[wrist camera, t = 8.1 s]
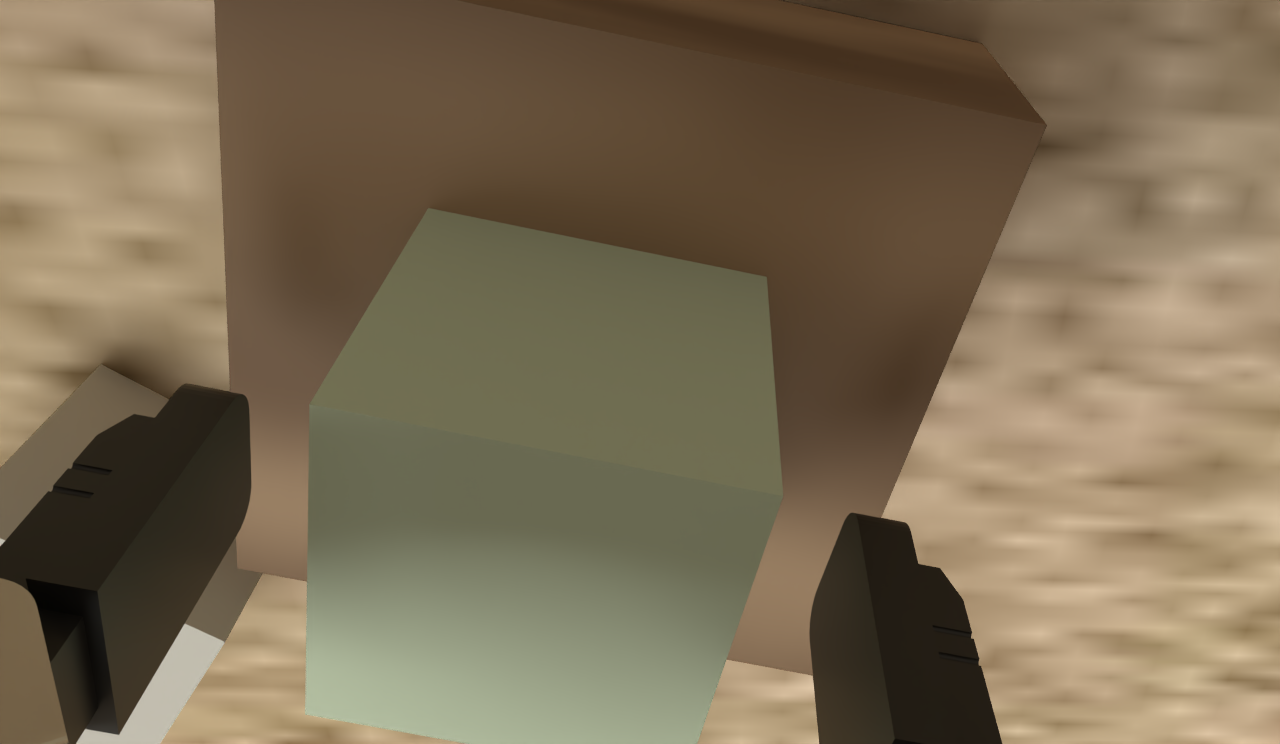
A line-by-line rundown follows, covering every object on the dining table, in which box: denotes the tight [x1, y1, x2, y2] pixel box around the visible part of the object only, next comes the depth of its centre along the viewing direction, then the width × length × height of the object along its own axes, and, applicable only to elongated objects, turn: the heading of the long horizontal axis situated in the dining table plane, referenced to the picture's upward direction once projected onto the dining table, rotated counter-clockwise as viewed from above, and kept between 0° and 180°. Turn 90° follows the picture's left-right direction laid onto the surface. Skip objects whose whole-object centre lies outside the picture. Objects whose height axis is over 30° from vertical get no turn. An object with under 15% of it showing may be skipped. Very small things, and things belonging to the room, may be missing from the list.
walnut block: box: [214, 0, 1047, 675], centre depth 18 cm, size 11×11×4 cm
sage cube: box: [305, 208, 783, 744], centre depth 14 cm, size 5×5×5 cm
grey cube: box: [0, 364, 262, 744], centre depth 21 cm, size 5×5×5 cm
